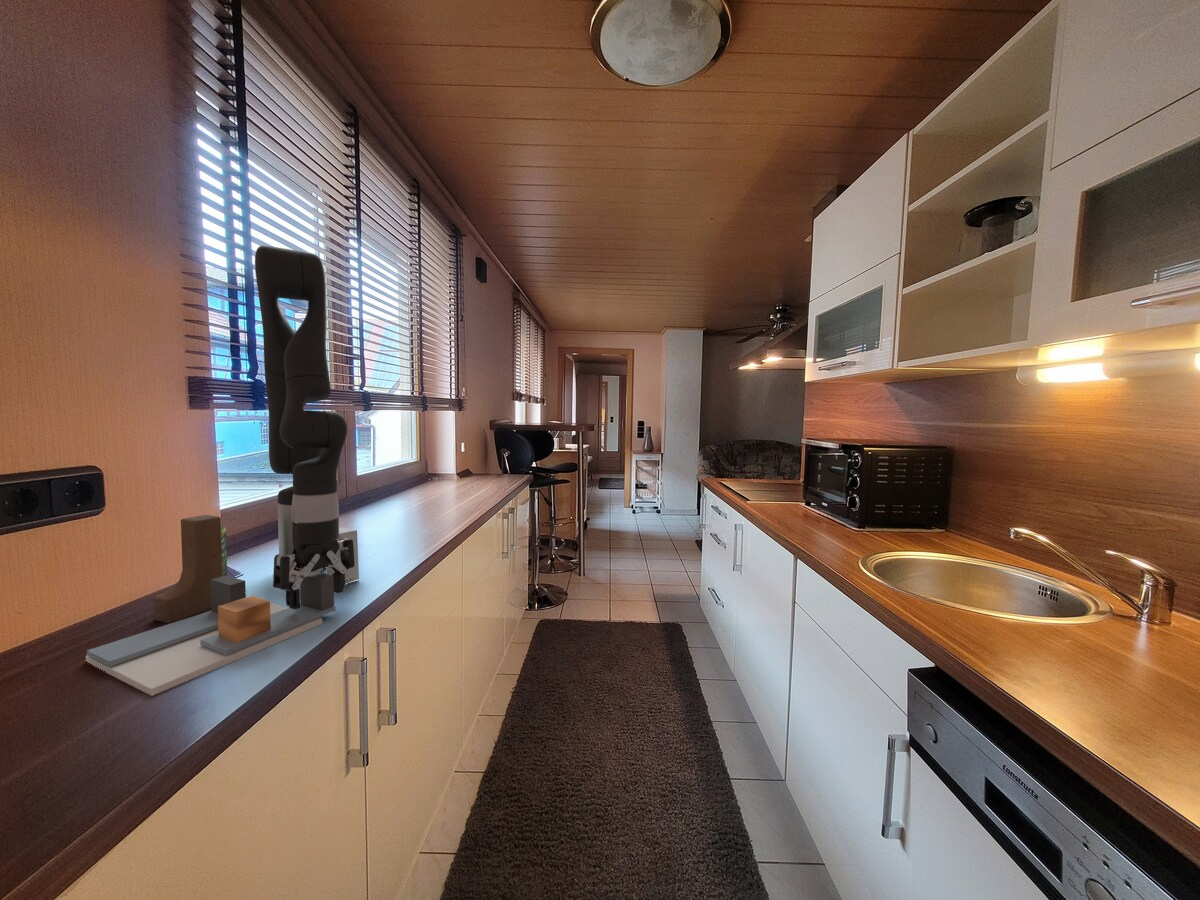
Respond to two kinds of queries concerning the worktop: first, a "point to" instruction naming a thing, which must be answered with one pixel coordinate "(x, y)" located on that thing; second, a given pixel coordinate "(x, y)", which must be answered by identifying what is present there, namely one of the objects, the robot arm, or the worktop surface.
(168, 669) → the lane board
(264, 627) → the cube
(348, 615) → the worktop surface
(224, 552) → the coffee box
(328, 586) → the strip with cube
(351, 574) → the skincare box
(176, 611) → the wooden block
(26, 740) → the worktop surface
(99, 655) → the strip empty
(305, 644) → the worktop surface
